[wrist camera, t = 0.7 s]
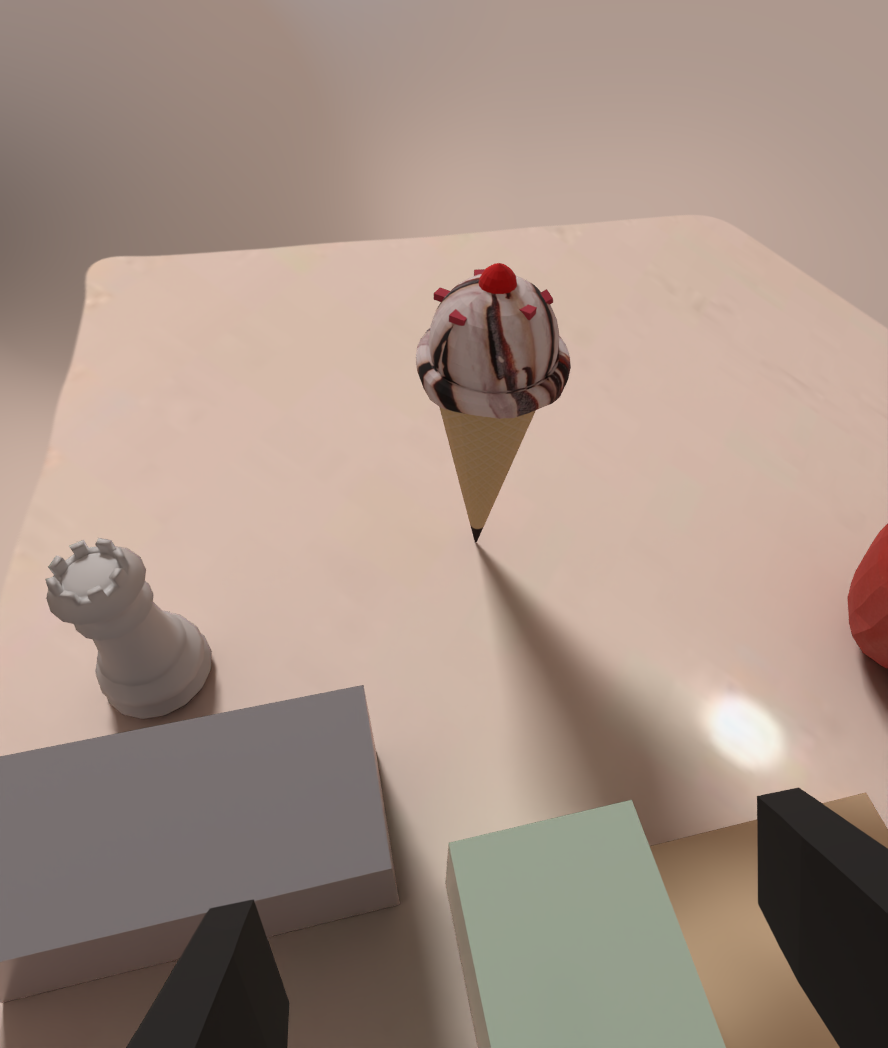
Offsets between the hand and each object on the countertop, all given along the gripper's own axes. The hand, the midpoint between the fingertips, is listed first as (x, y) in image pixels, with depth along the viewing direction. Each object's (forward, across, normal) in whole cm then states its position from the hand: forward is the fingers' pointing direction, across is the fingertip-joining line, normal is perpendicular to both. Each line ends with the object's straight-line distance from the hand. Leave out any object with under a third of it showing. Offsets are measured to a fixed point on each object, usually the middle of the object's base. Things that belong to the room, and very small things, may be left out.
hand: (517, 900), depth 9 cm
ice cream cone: (+24, -2, +4) cm, 24 cm away
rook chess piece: (+19, +12, +5) cm, 23 cm away
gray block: (+12, +10, +10) cm, 19 cm away
